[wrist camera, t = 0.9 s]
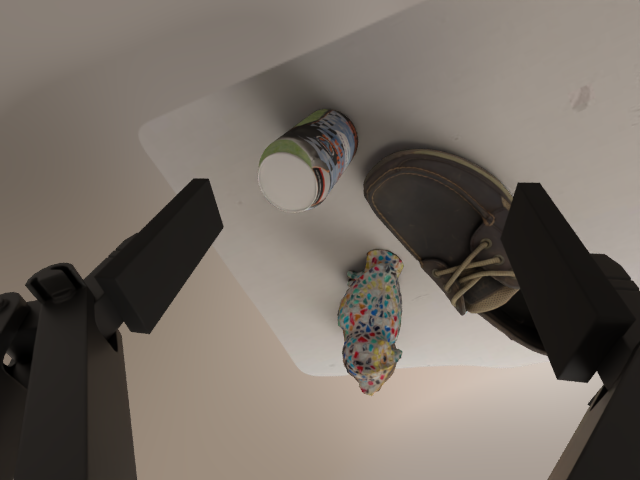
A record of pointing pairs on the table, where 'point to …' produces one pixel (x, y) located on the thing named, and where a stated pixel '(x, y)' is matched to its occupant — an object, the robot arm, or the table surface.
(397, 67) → the table surface
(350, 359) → the figurine
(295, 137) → the beverage can
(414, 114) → the table surface
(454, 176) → the boat shoe
